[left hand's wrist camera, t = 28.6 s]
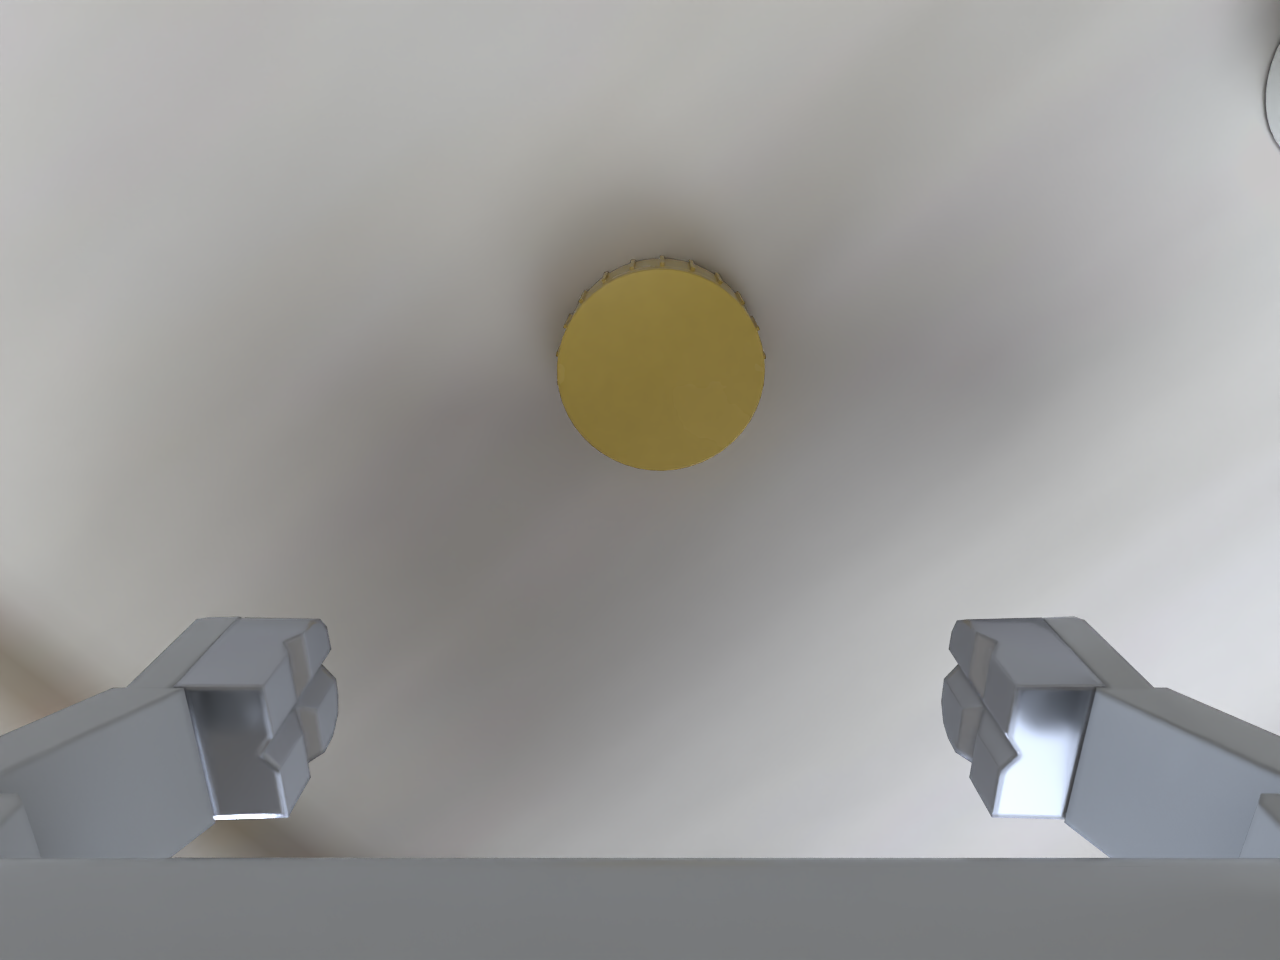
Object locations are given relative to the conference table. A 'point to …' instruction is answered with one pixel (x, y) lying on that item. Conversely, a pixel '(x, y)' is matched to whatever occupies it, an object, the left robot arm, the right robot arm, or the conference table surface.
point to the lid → (660, 365)
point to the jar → (1274, 96)
